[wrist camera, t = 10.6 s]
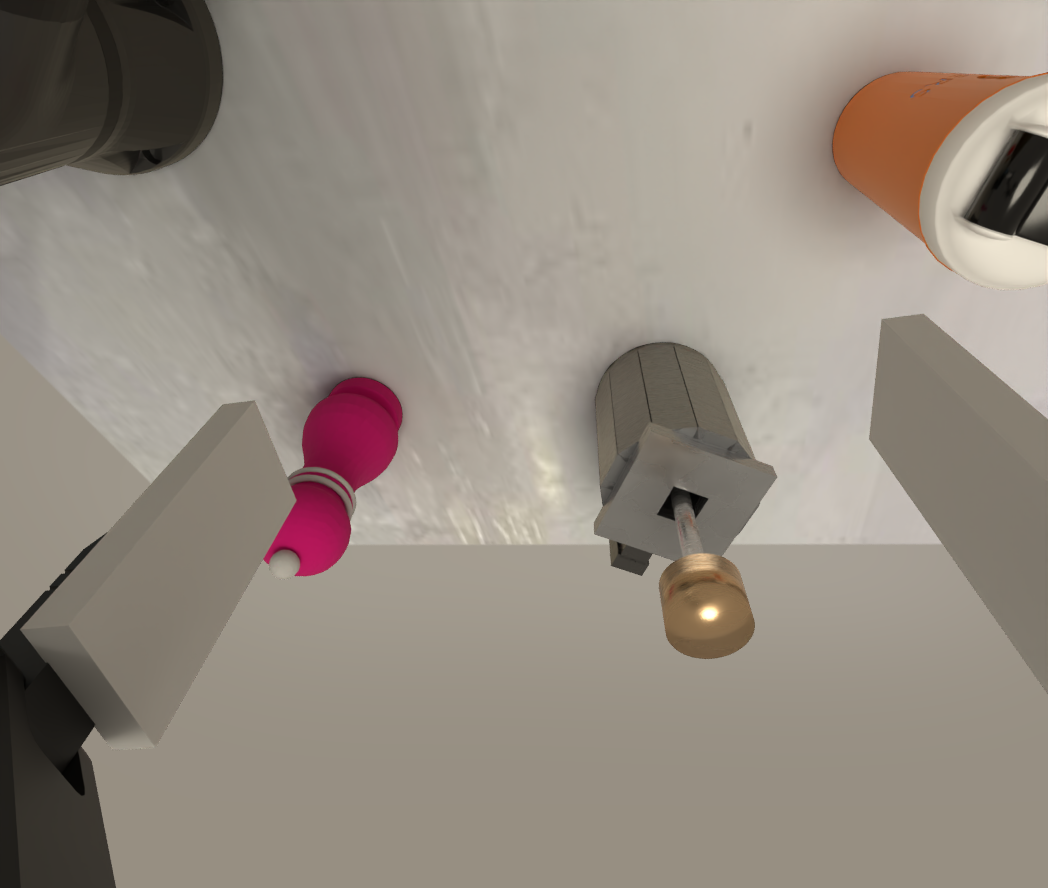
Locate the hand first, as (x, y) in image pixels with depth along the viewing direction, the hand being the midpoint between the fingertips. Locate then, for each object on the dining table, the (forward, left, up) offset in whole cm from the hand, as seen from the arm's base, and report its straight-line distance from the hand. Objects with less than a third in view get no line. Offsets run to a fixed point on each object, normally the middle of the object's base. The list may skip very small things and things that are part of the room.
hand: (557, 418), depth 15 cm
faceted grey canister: (+14, -17, -37) cm, 43 cm away
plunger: (+14, -15, -32) cm, 38 cm away
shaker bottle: (+19, +8, -37) cm, 42 cm away
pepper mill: (-8, -25, -37) cm, 45 cm away
